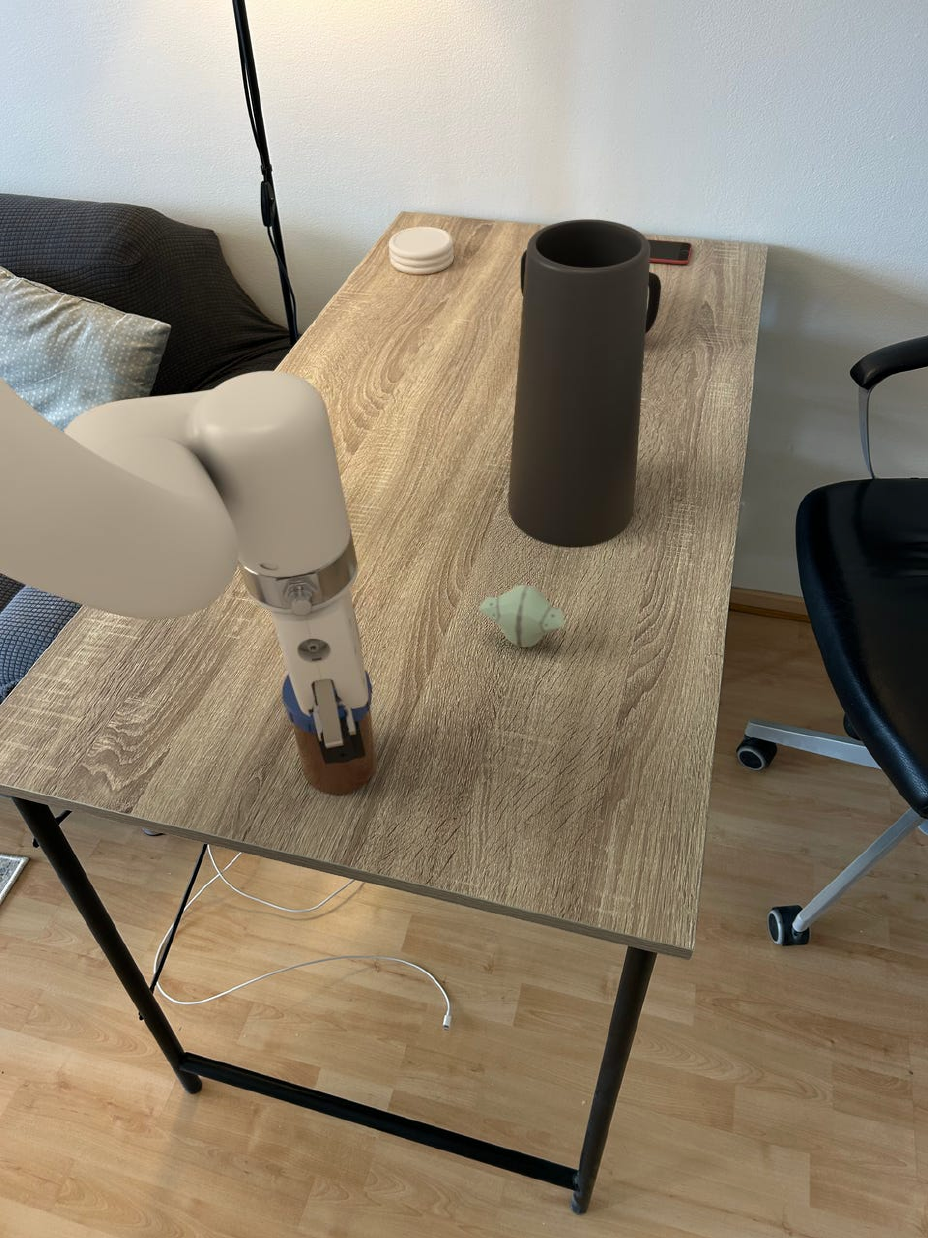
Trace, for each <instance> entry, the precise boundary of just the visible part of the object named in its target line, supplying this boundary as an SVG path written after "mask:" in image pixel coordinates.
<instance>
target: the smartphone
mask: <svg viewBox="0 0 928 1238" xmlns="http://www.w3.org/2000/svg"><path fill="white" fill-rule="evenodd" d="M646 239H647V240H648V242H649V245H650V263H659V264H660V263H661V264H672V265H688V264H689V262H690V258H691V255H692V249H693V244H692V243H690V242H687V241H676V240H663V239H662V240H661V239H650V238H646Z"/></svg>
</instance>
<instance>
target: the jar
mask: <svg viewBox="0 0 928 1238" xmlns="http://www.w3.org/2000/svg"><path fill="white" fill-rule="evenodd" d="M369 709H370V710H369V711H368V712H367V714H366V715H365V716H364V718H363V719H362V720H361V721H360V722H359V727H360V731H361V735H362V739H363V744H364V748H365V756H364V757H363V758H358V759H353V760H352V761H349V762H345V763H332V764H326V763H325V762H324V760H323V756H322V753H321V750H320V746H319V743H318V740H317V737H316V734H313V733H309V732H306V731H304V730H302V729H300V728H299V727H297V726H296V725H295V724H294V723H291V724H292V728H293V733H294V736H295V741H296V745H297V749H298V753H299V759H300V762H301V767H302V772H303V775H304V778H305V780H306V781H307V782H308V784H309V785H310V786H311V787H313V788H314V789H315V790H317V791H319V792H320V793H324V794H328V795H333V796H334V795H337V796H339V795H346V794H349V793H350V794H351V793H352V792H356V791H357V790H359V789H360V788H361V789H362V787H364V786H365V785H367V783H368V782H369V781H370V780H371V779H372V778H373V775H374V774H375V772H376V769H377V765H378V764H377V763H378V757H377V751H376V743H375V733H374V727H373V719H372V718H373V717H372V711H371V707H370V708H369Z"/></svg>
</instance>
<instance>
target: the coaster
mask: <svg viewBox="0 0 928 1238" xmlns="http://www.w3.org/2000/svg"><path fill="white" fill-rule="evenodd" d="M388 248H389V251H388V254H389V261H390V265H391V266H392V267H393V268H394V269H396V270H397V271H399V272H401V273H405V274H408V275H418V276H419V275H421V276H422V275H430V274H435V273H439V272H442V271H443V270H445V269H447V268H448V267H450V265H452V263H453V262H454V259H455V253H454V250H455V248H454V238H453V236H452V235H451V234H450V232H448V231H446V230H444V229H441V228H438V227H434V226H414V227H409V228H405V229H402V230H400V231H397V232H396V233H395V234H393V235H392V237H390V239H389V241H388Z"/></svg>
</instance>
